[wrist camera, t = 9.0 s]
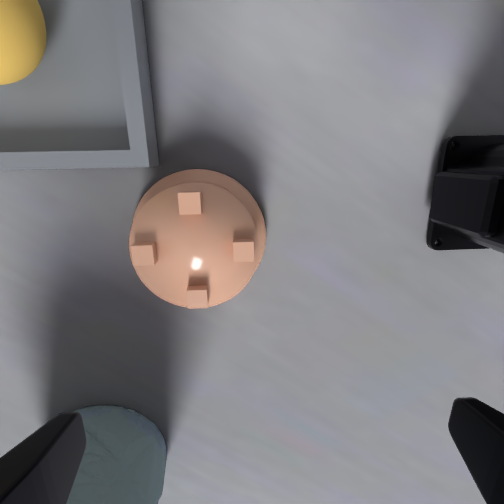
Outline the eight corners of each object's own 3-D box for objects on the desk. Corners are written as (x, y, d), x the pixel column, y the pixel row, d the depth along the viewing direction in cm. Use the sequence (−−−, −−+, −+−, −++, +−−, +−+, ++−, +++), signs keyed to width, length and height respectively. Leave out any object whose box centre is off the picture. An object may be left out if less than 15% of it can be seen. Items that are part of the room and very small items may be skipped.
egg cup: (264, 167, 17) (272, 170, 14) (265, 291, 19) (272, 320, 16) (126, 170, 17) (98, 173, 13) (143, 296, 19) (124, 327, 16)
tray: (129, -123, 13) (110, -173, 11) (159, 165, 17) (149, 167, 15) (-168, -131, 13) (-244, -185, 11) (-71, 170, 16) (-113, 172, 14)
